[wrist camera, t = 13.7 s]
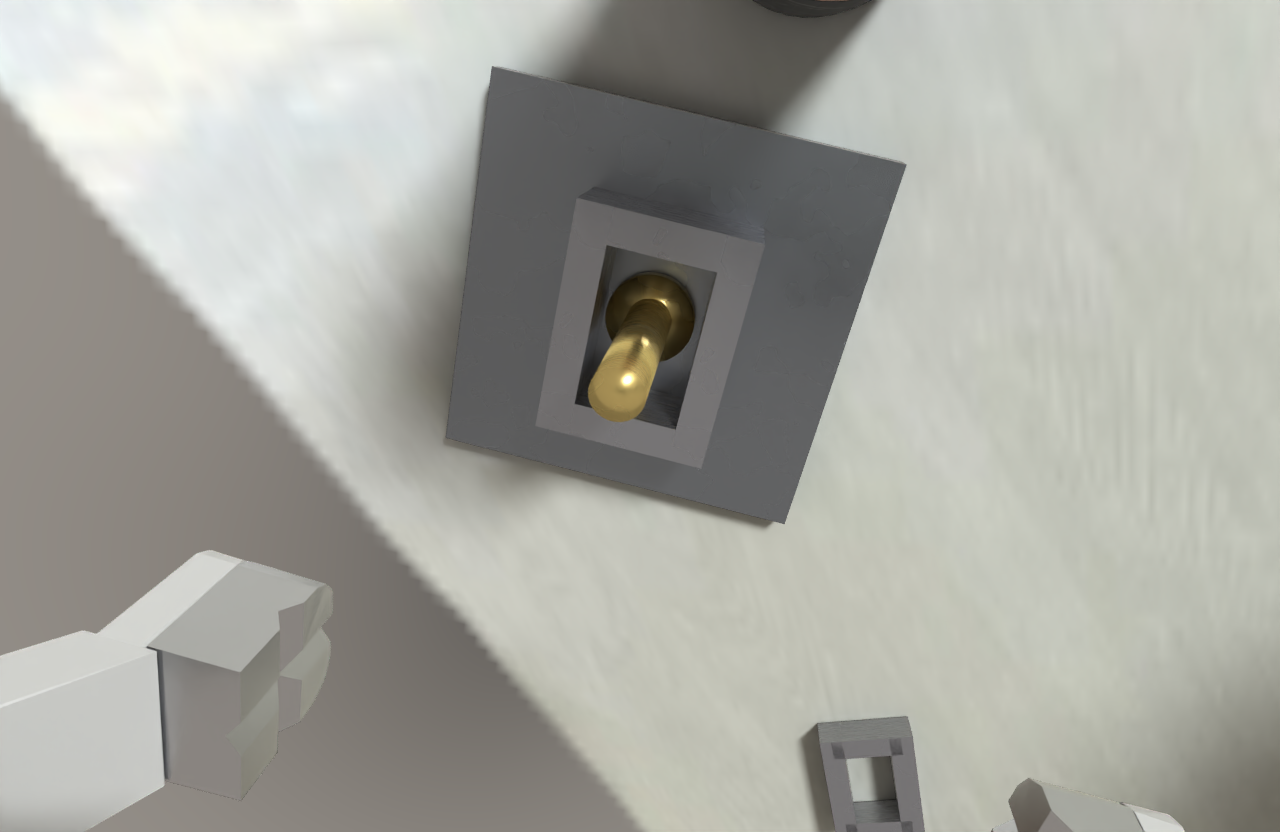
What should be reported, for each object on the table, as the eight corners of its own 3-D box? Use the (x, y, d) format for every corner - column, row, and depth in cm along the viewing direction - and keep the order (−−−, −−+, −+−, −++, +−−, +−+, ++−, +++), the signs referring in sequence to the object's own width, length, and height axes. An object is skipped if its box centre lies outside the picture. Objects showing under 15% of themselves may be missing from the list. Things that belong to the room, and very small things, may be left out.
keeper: (901, 161, 26) (968, 196, 18) (783, 511, 32) (794, 658, 24) (500, 66, 27) (390, 58, 19) (454, 428, 33) (354, 543, 24)
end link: (763, 228, 27) (765, 244, 24) (705, 433, 30) (701, 468, 27) (594, 186, 27) (576, 197, 24) (555, 395, 30) (535, 425, 28)
